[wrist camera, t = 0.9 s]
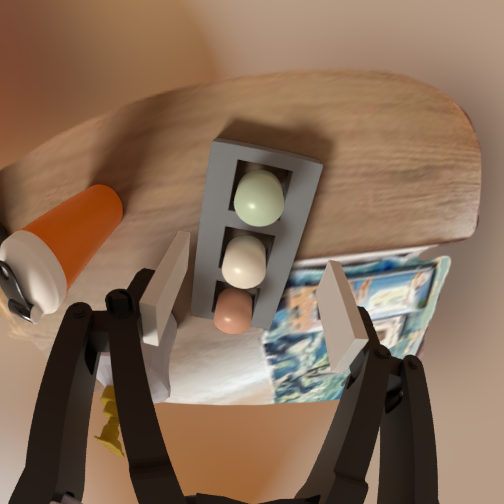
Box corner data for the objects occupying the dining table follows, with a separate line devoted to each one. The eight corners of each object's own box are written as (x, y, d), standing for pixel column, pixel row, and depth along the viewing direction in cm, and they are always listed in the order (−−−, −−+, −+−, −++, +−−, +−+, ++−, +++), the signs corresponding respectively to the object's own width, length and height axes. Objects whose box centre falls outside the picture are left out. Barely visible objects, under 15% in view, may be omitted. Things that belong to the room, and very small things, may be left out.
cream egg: (223, 264, 34) (219, 284, 31) (229, 231, 32) (225, 248, 29) (260, 271, 35) (260, 291, 31) (269, 239, 32) (270, 257, 29)
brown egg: (215, 310, 39) (211, 330, 35) (220, 284, 36) (215, 304, 33) (248, 316, 39) (247, 336, 36) (255, 291, 36) (254, 311, 33)
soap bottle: (130, 335, 48) (86, 446, 26) (113, 283, 41) (43, 408, 20) (192, 344, 48) (164, 470, 26) (184, 291, 41) (137, 443, 20)
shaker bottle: (125, 175, 32) (20, 257, 15) (133, 236, 36) (59, 340, 19) (74, 179, 32) (-27, 250, 15) (85, 234, 36) (6, 321, 19)
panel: (194, 302, 42) (190, 315, 39) (216, 137, 29) (212, 141, 27) (269, 315, 43) (269, 329, 40) (318, 159, 30) (323, 165, 28)
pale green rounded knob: (234, 206, 30) (230, 221, 27) (242, 165, 28) (239, 175, 25) (275, 214, 31) (277, 230, 27) (286, 175, 28) (289, 185, 25)
